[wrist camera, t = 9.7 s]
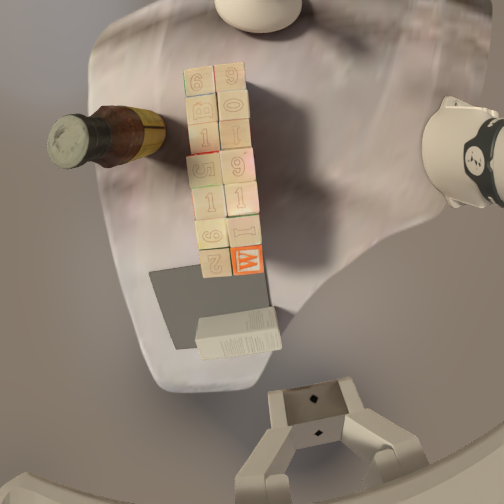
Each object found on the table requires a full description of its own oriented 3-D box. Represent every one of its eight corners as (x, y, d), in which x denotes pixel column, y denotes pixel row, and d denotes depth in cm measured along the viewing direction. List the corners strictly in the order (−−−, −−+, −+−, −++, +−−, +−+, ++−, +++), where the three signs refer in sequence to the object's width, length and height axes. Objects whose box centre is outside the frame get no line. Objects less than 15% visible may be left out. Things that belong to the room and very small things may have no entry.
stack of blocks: (196, 84, 32) (176, 60, 20) (244, 79, 32) (247, 52, 20) (212, 239, 40) (202, 280, 28) (257, 235, 40) (264, 275, 29)
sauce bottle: (123, 116, 33) (31, 107, 14) (166, 106, 33) (97, 79, 14) (128, 162, 35) (40, 188, 17) (171, 154, 35) (106, 170, 17)
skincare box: (278, 326, 45) (206, 338, 46) (274, 303, 44) (198, 316, 44) (283, 350, 39) (202, 362, 40) (278, 326, 38) (193, 339, 38)
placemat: (261, 254, 41) (261, 255, 41) (273, 336, 47) (274, 337, 46) (149, 272, 41) (148, 273, 41) (176, 348, 47) (176, 349, 46)
